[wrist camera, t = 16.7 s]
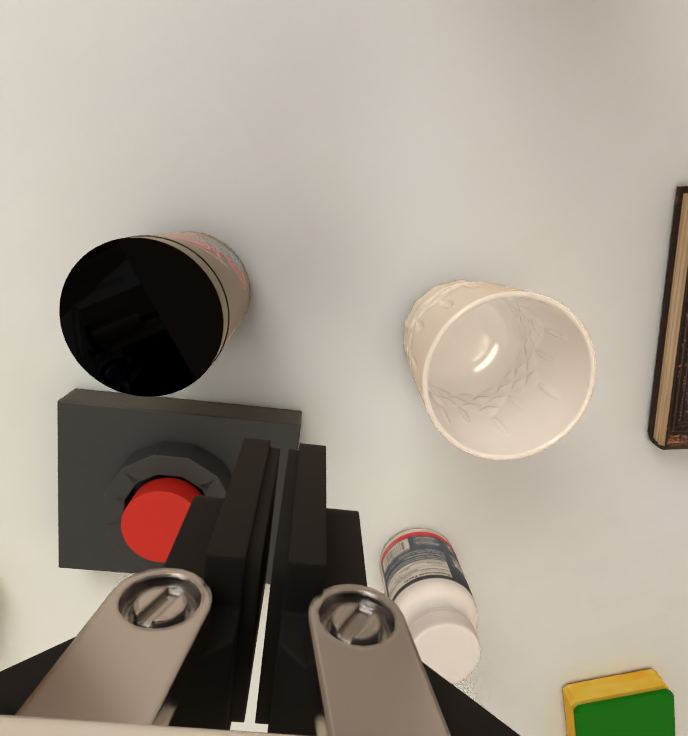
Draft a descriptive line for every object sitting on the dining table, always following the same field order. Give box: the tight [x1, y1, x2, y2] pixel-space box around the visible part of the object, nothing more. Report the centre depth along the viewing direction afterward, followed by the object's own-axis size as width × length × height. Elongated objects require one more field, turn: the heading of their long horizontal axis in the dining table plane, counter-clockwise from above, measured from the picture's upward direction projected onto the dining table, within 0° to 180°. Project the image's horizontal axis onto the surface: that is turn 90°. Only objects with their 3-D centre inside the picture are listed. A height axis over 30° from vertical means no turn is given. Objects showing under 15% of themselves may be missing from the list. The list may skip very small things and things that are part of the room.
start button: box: [121, 477, 202, 562], centre depth 32 cm, size 4×4×2 cm
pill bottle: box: [380, 529, 481, 684], centre depth 35 cm, size 5×5×9 cm
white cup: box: [404, 280, 596, 460], centre depth 30 cm, size 8×8×10 cm
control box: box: [58, 389, 302, 584], centre depth 34 cm, size 11×14×4 cm
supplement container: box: [59, 232, 250, 397], centre depth 28 cm, size 7×7×10 cm
